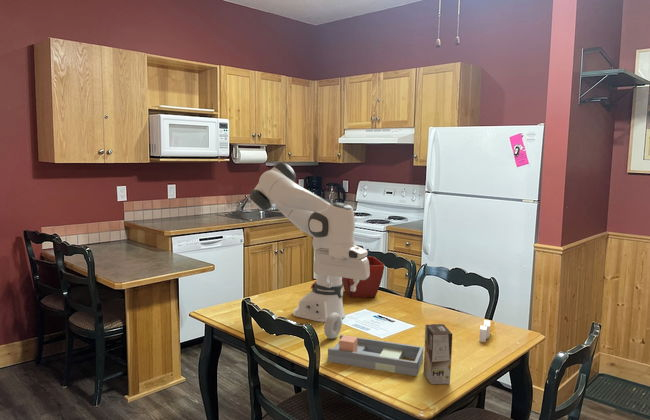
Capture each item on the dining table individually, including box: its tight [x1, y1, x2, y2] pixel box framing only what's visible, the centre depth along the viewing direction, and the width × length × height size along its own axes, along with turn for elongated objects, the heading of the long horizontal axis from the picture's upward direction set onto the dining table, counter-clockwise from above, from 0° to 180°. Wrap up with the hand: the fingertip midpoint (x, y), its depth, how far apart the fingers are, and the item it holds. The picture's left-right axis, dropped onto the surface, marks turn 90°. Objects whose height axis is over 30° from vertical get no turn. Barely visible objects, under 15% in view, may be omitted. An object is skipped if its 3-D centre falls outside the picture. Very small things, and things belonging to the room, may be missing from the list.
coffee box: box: [423, 323, 453, 385], centre depth 157 cm, size 9×6×16 cm
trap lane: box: [327, 334, 425, 377], centre depth 169 cm, size 30×14×4 cm, turn 71°
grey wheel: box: [323, 312, 343, 340], centre depth 188 cm, size 10×4×10 cm, turn 148°
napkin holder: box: [479, 319, 491, 343], centre depth 193 cm, size 15×11×6 cm
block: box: [338, 334, 358, 352], centre depth 169 cm, size 5×5×5 cm
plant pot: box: [342, 256, 385, 299], centre depth 246 cm, size 19×19×17 cm
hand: (340, 289), depth 173 cm, fingers open, 8 cm apart
